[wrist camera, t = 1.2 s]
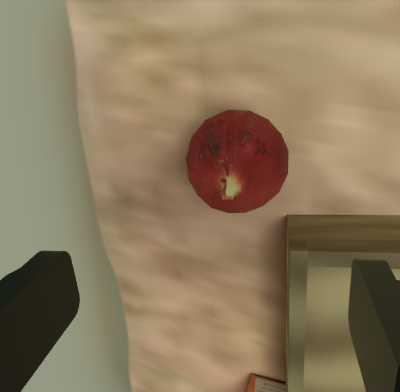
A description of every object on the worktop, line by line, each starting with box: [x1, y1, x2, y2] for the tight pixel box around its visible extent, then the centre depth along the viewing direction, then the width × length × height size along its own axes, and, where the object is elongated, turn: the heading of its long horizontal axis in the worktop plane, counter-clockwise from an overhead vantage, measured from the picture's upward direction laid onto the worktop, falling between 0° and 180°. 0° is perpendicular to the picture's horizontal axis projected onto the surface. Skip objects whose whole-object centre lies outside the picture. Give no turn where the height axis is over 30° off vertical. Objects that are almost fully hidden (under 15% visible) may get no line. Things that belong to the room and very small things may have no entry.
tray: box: [285, 215, 400, 392], centre depth 25 cm, size 14×14×5 cm
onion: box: [186, 110, 288, 213], centre depth 21 cm, size 6×6×8 cm
